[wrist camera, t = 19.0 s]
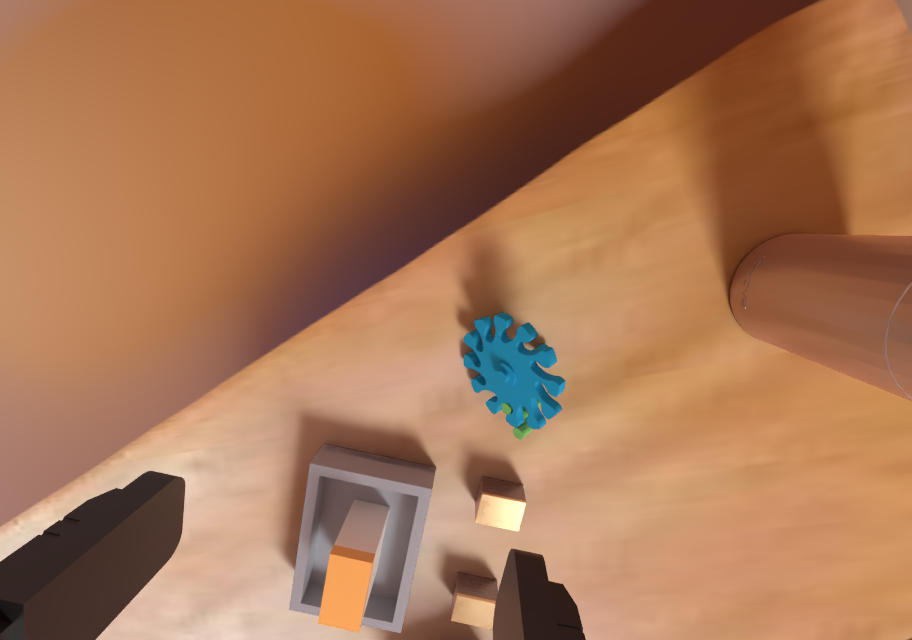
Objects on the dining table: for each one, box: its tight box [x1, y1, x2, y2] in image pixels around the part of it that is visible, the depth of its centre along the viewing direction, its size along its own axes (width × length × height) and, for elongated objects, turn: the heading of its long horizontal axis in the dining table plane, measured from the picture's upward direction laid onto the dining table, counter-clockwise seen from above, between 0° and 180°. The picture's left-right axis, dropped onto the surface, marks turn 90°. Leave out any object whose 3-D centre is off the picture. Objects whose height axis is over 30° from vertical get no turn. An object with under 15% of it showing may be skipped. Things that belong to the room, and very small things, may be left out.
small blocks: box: [451, 476, 526, 629], centre depth 41 cm, size 4×14×3 cm, turn 168°
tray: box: [289, 444, 436, 633], centre depth 41 cm, size 11×16×4 cm
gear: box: [463, 312, 565, 439], centre depth 36 cm, size 11×6×10 cm
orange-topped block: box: [318, 499, 390, 632], centre depth 38 cm, size 4×7×7 cm, turn 168°
